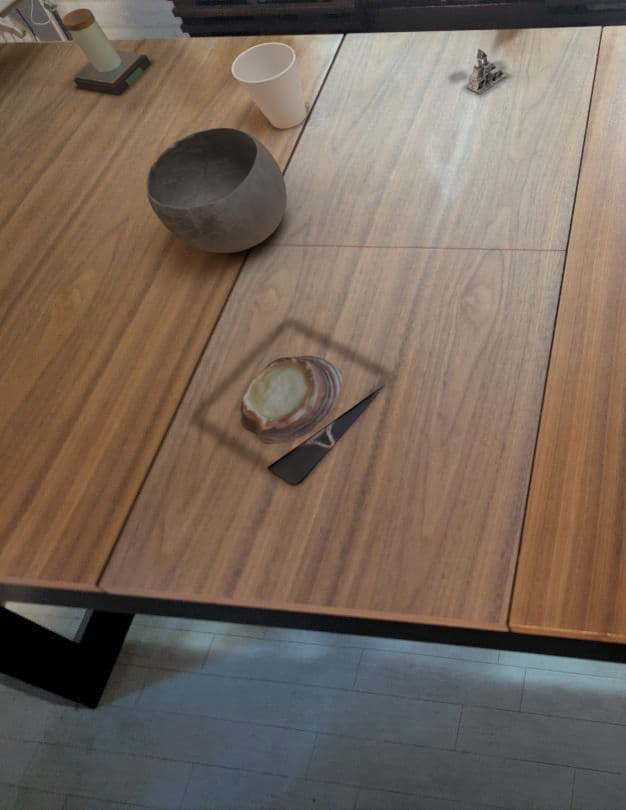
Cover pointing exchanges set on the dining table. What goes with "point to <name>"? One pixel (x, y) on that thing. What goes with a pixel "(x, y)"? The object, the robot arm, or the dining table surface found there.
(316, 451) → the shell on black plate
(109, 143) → the dining table surface
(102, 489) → the dining table surface
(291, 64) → the cup
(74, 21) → the jar
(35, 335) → the dining table surface
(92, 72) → the scale
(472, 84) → the stone castle ruin model
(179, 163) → the bowl
